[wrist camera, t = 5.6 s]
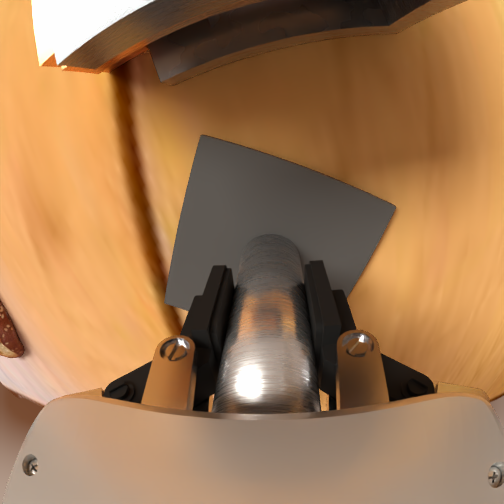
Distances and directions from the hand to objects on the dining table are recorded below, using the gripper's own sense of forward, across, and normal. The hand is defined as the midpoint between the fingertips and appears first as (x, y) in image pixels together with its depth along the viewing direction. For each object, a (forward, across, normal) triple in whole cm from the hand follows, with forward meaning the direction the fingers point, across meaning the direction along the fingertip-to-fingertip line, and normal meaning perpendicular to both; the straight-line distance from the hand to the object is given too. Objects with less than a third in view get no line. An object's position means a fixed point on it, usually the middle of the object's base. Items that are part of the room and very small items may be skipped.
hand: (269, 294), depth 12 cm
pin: (+3, 0, 0) cm, 3 cm away
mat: (+3, 0, 0) cm, 3 cm away
